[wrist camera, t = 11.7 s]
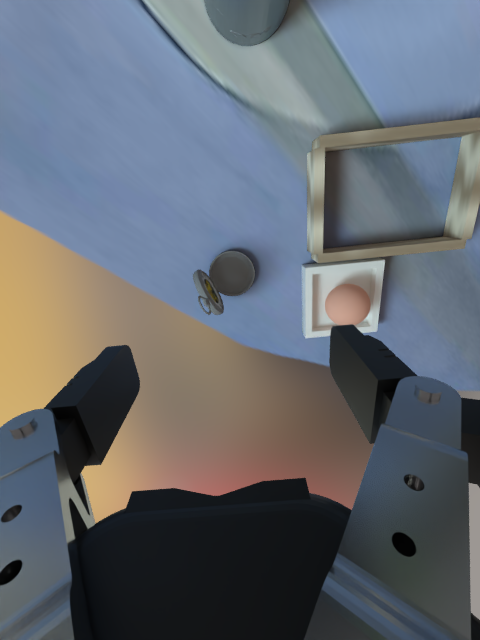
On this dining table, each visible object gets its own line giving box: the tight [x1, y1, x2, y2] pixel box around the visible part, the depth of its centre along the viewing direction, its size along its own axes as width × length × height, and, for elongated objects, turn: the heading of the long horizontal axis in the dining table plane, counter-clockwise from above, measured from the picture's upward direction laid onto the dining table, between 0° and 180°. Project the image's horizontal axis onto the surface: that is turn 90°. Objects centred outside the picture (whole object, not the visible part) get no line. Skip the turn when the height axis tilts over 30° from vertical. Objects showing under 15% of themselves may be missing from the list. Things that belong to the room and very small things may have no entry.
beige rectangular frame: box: [307, 118, 480, 263], centre depth 35 cm, size 14×20×4 cm
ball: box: [325, 284, 371, 325], centre depth 38 cm, size 6×6×6 cm
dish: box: [302, 257, 385, 338], centre depth 41 cm, size 11×11×2 cm
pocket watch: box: [193, 251, 255, 315], centre depth 36 cm, size 8×8×10 cm
